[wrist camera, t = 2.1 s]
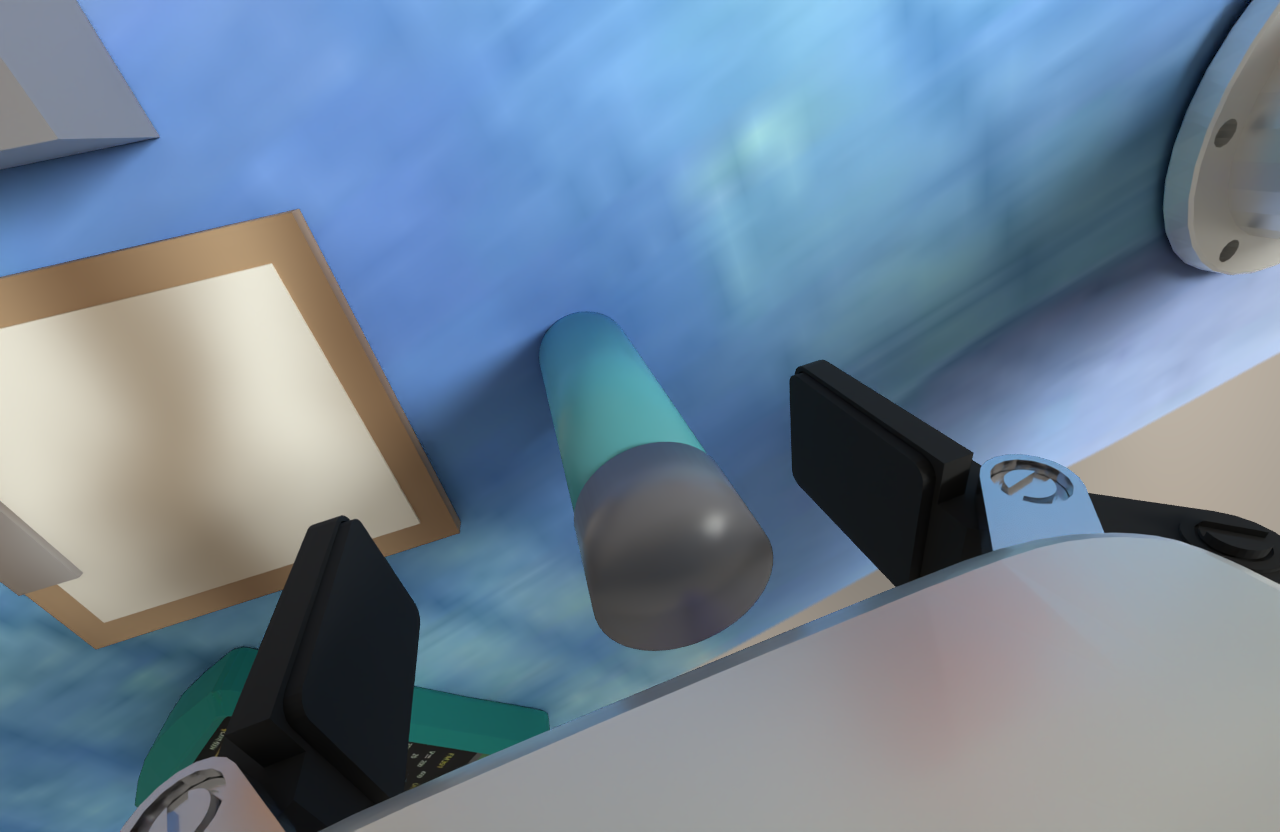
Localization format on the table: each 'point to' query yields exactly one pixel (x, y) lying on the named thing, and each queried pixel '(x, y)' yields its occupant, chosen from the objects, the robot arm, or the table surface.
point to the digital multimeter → (437, 738)
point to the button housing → (60, 86)
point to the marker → (646, 496)
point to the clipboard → (193, 428)
